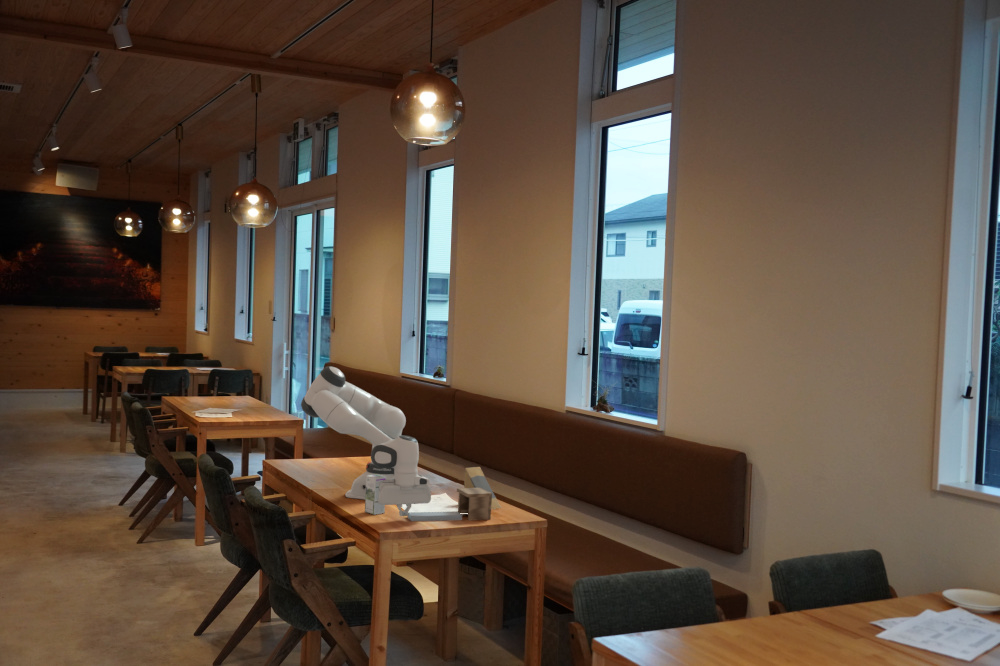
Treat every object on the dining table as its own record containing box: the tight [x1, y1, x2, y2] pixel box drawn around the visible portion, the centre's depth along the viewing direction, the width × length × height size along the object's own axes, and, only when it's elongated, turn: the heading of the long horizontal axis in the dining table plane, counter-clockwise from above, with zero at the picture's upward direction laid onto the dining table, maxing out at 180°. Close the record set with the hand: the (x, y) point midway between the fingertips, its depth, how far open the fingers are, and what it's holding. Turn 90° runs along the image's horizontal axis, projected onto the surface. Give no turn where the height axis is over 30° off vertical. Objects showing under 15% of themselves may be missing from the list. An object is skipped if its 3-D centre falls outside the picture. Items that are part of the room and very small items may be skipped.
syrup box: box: [364, 474, 386, 516], centre depth 337 cm, size 6×6×14 cm
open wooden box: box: [456, 487, 492, 521], centre depth 340 cm, size 10×11×10 cm
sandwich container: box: [463, 466, 502, 510], centre depth 362 cm, size 9×15×15 cm, turn 43°
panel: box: [407, 510, 463, 522], centre depth 333 cm, size 20×6×2 cm, turn 110°
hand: (403, 515), depth 327 cm, fingers closed
